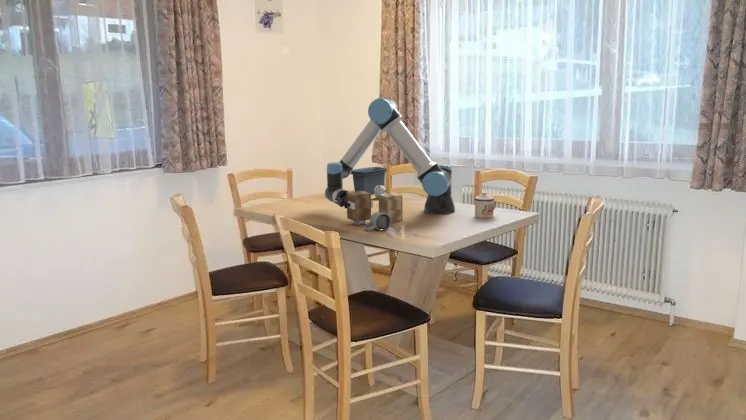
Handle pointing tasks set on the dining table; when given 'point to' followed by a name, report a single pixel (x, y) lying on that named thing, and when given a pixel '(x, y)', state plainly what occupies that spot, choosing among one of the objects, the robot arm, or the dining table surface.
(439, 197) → the robot arm
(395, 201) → the oak cover
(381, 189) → the grey rounded piece
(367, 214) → the walnut cover
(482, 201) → the teacup with lid
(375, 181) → the storage bin
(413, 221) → the dining table surface
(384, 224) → the ceramic mug
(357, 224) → the letter cube
